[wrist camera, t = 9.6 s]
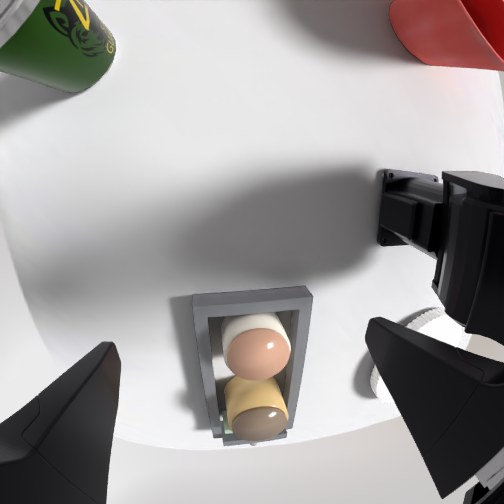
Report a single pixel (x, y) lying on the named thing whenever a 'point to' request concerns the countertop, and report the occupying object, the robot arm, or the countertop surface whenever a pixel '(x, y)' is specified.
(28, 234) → the countertop surface
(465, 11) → the flower pot
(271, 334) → the cream jar
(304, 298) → the lane
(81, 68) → the beer can
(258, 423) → the amber jar
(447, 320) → the plastic lid
